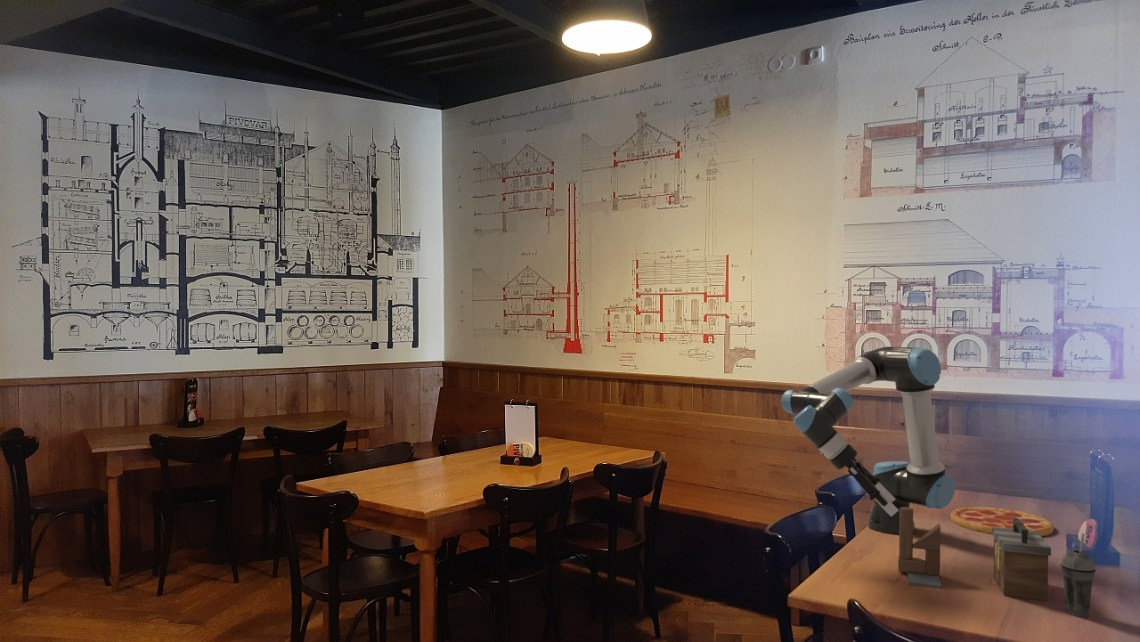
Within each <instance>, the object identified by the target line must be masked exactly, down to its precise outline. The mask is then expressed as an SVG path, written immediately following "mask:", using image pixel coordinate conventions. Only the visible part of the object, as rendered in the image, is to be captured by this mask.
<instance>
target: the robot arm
mask: <svg viewBox="0 0 1140 642" xmlns="http://www.w3.org/2000/svg"><path fill="white" fill-rule="evenodd" d="M941 373H942V365H941V363H940V360H939V358H938V356H937V355H936V353H935V352H933V351H932V350H930V349H928V348H922V347H917V346H916V347H911V346H910V347H909V346H908V347H907V346H906V347H901V346H883V347H879V348H875V349H873V350H870V351H868V352H866V353H863V354H861V355H859V356H857V357H855V358H854V359H853V360H852V361H851V363H850V364H848V365H847V366H844V367H842V368H841V369H838V370H837V371H834V372H833V373H830V374H829V375H826V376H825V377H822V378H821V379H819V380H817V381H815V382H813V383H810V384H809V385H807V386H805V387H804V388H801V389H798V390H797V389H789V390H786V391H784V393H783V394H782V396H781V407H782V409H783V410H784V411H785V412H786V413H788V414H792V415H796V416H794V418H793V424H794V426H795V427H796V428H797V429H798V430H799V431H800V433H801V434H803V435H804V437H805V438H807V440H809V442H811V443H812V444H813V446H815V447H816V448H817V450H819V454H820V455H821V456H822V455H823V456H824V457H825V458H826V459H829V461H830V463H831V464H832V465H833V466H834V467H835V468H836V469H837V470H841V469H843V468H845V467H846V468H847V469H848V470H847V473H849V475H850V476H851V477H852V478H854V480H855V481H856V482H857V483H858V485H860V487H862V489H863V490H864V491H865V492H866V493H867V494H868V496H869V500H870V501H873V504H872V507H871V510H870V512H869V516H868V519H867V527H868V528H870V529H871V530H875V531H877V532H882V533H887V534H896V535H897V534H898V535H899V526H900V508H901V507H909V508H911V506H910V504H914V505H917V506H920V507H921V506H922V507H924V508H925V507H926V508H928V509H935V510H942V509H944V508H946V507H947V506H948V505H950V503H951V502H952V499H953V498H954V495H955V490H956V483H955V479H954V478H953V477H952V476H951V475H950V474H946V468H945V465H944V464H943V463H941V462H940V461H939V454H938V453H939V452H938V445H937V437H936V429H935V428H936V427H935V419H934V418H935V417H934V412H933V411H934V410H933V404H932V397H931V392H932V391H933V390H934V389H935V388H936V384H937V383H938V382H939V380H940V377H941V376H940V375H941ZM879 381H880V382H881V381H884V382H891V383H892V382H893V383H894V384H895V390H896V392H898V393H900V394H901V399H902V405H903V413H904V422H905V429H906V436H907V444H908V446H907V447H908V452H909V460H910V461H909V462H908V461H903V460H902V461H901V460H900V461H894V460H893V461H881V462H880V461H879V462H877V463H875V465H874V467H873V474H872V473H871V472H870V471H869V470H868V469H867V468H865V467H864V466H863V464H862V463H861V462H860V461H858V460H857V458H856V457H857V456H858V451H857V450H856V449H855V448H854V447H853V446H852V445H851V444H850V443H849V444H847V440H846V439H845V438H844V437H843V436H842V435H841V434H840V433H839V432H838V431H837V430H836V429H835V428H834V426H835V425H836V424H837V423H838V422H839V421H840V420H841V419H842V418H843V417H844V416H846V415H847V414H848V412H849V411H850V410H851V408H852V407H853V405H854V400H853V397H852V396H851V394H850V393H849V392H850V391H852V390H854V389H856V388H858V387H860V386H861V385H868V384H869V385H870V384H872V383H874V382H879ZM915 531H916V524H915V521H914V519H913V533H914V532H915Z"/></svg>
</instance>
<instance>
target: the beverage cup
mask: <svg viewBox="0 0 1140 642" xmlns="http://www.w3.org/2000/svg"><path fill="white" fill-rule="evenodd" d="M1084 539H1085V533H1081V539H1080V545H1079V550H1071V551H1068V552H1066V553H1065V554H1064V556H1063V557H1062V559H1061V564H1060V566H1061V572H1062V575H1063V576H1062V577H1063V587H1064V588H1063V589H1064V599H1065V607H1066V613H1067V614H1069V615H1071V616H1074V617H1078V618H1086V617H1089V611H1090V607H1091V599H1092V590H1093V581H1094V577H1095V574H1096V573H1095V572H1096V566H1095V563H1094V561H1093V559H1092V558H1091V557H1090V556H1089V555H1088V553H1086V552H1084V551H1083V549H1084V548H1083V547H1084Z"/></svg>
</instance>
